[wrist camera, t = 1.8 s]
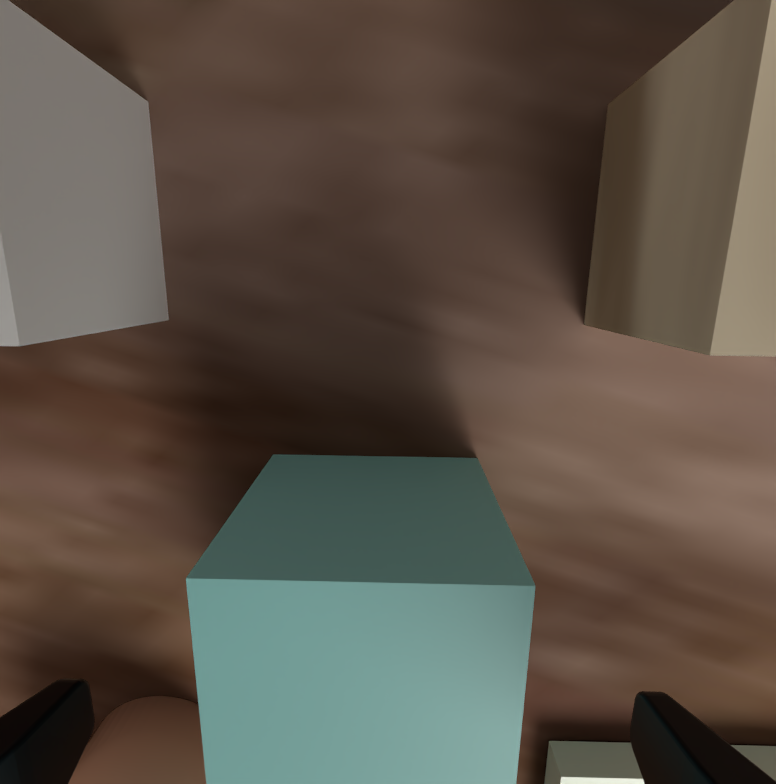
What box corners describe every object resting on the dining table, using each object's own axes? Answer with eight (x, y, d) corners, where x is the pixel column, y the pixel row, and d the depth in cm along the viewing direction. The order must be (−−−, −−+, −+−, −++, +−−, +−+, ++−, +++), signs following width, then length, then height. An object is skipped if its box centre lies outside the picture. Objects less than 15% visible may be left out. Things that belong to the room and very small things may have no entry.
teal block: (282, 626, 13) (212, 839, 8) (273, 453, 12) (186, 577, 7) (466, 630, 13) (509, 848, 8) (476, 457, 12) (535, 586, 7)
